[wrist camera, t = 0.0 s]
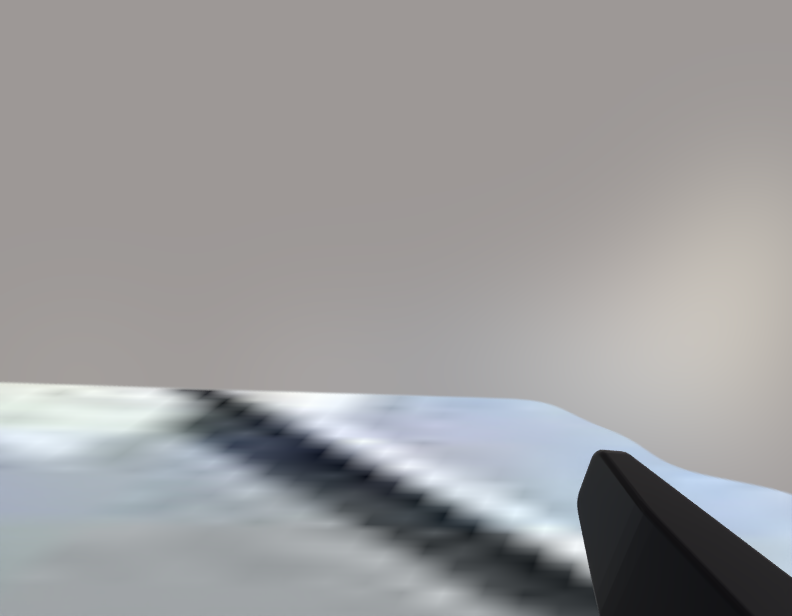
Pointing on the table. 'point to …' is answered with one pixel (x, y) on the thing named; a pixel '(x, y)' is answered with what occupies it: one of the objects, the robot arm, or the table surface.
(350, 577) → the table surface
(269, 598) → the table surface
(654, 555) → the robot arm
